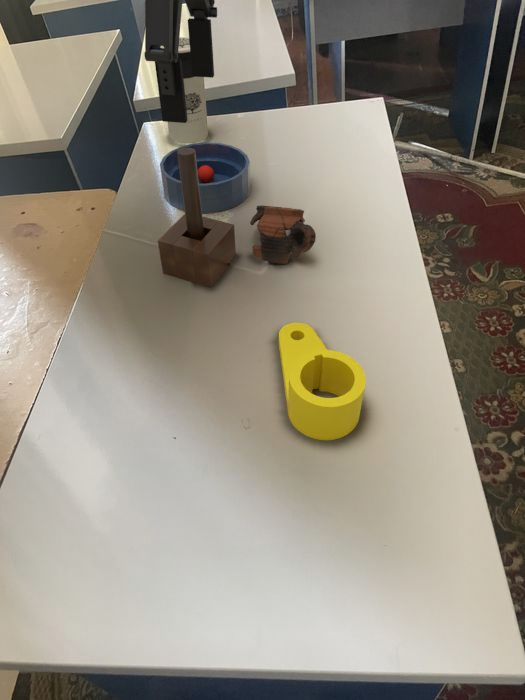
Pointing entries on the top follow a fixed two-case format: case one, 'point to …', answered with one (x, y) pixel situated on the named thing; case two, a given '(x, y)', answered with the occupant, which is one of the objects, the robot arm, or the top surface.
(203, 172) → the ball
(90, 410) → the top surface
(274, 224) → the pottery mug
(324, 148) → the top surface
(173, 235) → the holder
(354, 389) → the crank
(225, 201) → the bowl
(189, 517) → the top surface
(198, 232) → the stick
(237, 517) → the top surface
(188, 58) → the travel mug
